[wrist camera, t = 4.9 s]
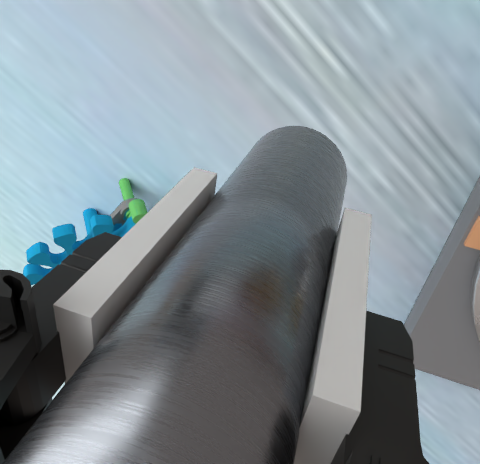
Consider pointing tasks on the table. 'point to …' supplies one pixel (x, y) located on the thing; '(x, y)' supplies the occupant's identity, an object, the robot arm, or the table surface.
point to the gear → (95, 225)
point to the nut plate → (450, 305)
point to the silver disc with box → (476, 296)
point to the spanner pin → (213, 328)
